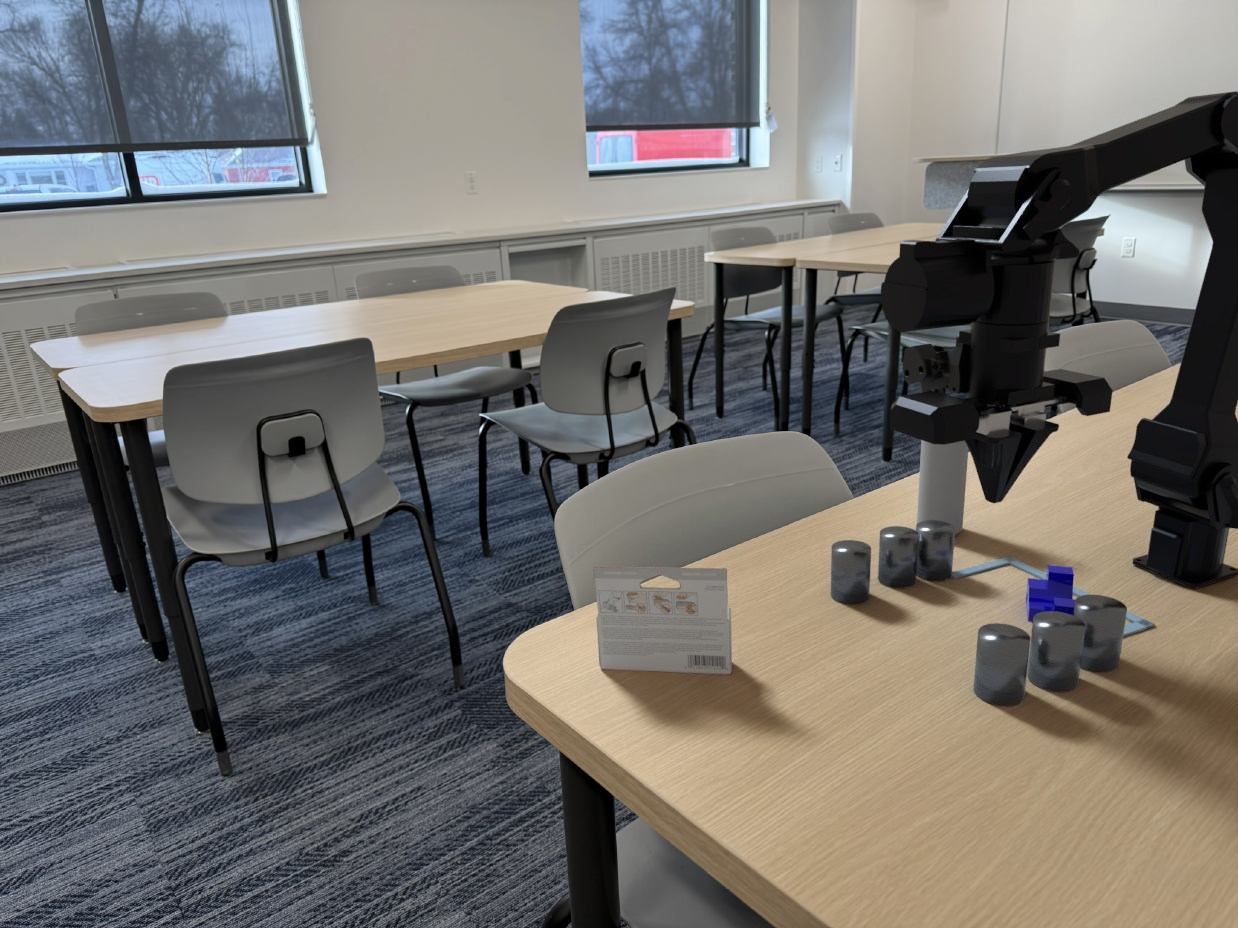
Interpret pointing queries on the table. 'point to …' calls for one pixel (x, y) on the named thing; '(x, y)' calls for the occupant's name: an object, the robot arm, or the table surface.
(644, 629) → the ink cartridge box
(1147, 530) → the table surface
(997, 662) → the spacers
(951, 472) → the beverage can
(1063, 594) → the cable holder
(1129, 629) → the taped bay
